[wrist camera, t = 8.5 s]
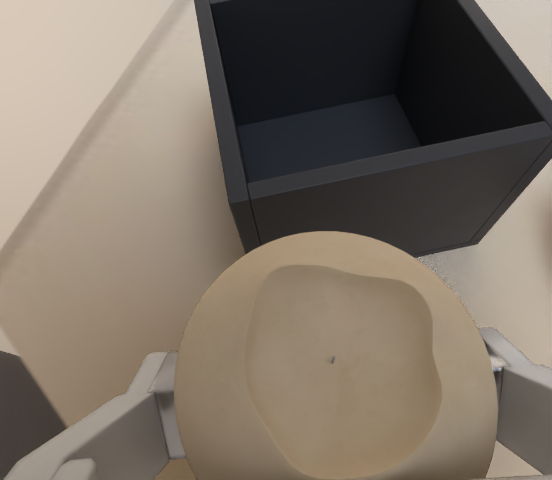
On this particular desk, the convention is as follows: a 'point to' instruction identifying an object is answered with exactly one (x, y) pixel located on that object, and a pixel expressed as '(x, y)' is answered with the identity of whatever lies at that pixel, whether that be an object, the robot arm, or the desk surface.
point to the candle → (334, 369)
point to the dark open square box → (370, 119)
